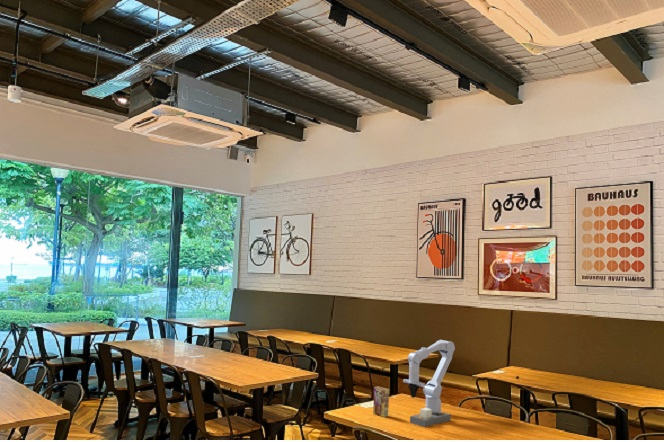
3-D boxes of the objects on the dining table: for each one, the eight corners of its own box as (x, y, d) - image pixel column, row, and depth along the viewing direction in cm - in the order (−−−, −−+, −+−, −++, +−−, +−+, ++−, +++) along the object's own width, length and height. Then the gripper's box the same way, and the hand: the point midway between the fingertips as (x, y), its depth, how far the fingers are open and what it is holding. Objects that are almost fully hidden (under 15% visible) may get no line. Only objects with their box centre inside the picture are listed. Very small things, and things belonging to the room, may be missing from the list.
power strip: (436, 416, 302) (436, 409, 302) (450, 420, 294) (450, 413, 295) (410, 422, 286) (410, 415, 286) (424, 427, 278) (424, 419, 279)
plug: (425, 419, 289) (425, 407, 290) (431, 421, 286) (431, 409, 287) (419, 421, 285) (420, 409, 286) (425, 423, 283) (425, 410, 283)
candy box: (388, 416, 297) (389, 389, 299) (383, 417, 294) (384, 389, 296) (377, 412, 304) (378, 386, 305) (372, 413, 301) (373, 386, 303)
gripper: (400, 372, 308) (399, 395, 307) (419, 376, 298) (418, 400, 296) (407, 371, 313) (407, 394, 311) (427, 375, 302) (426, 399, 301)
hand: (413, 397), depth 304 cm, fingers closed
